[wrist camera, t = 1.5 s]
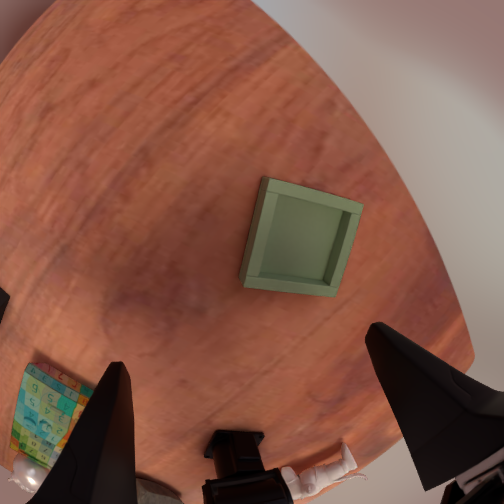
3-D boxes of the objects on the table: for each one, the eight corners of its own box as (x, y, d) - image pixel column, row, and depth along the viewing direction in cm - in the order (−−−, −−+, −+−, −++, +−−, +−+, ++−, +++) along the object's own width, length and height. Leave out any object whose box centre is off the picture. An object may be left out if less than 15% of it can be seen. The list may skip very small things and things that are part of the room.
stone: (189, 495, 35) (195, 531, 27) (152, 501, 34) (155, 535, 27) (144, 468, 30) (145, 512, 23) (105, 475, 29) (103, 514, 22)
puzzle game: (130, 434, 22) (81, 488, 24) (133, 402, 26) (84, 464, 28) (21, 376, 17) (8, 451, 19) (37, 348, 22) (16, 428, 24)
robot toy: (352, 439, 31) (253, 480, 30) (377, 487, 25) (277, 528, 24) (342, 437, 43) (269, 469, 42) (361, 474, 37) (287, 505, 36)
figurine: (20, 503, 19) (19, 499, 15) (0, 467, 22) (-6, 451, 18) (63, 489, 29) (76, 481, 24) (43, 456, 31) (50, 439, 27)
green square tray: (325, 288, 27) (335, 297, 25) (238, 277, 24) (243, 287, 22) (351, 200, 24) (364, 204, 23) (262, 176, 22) (269, 177, 20)
